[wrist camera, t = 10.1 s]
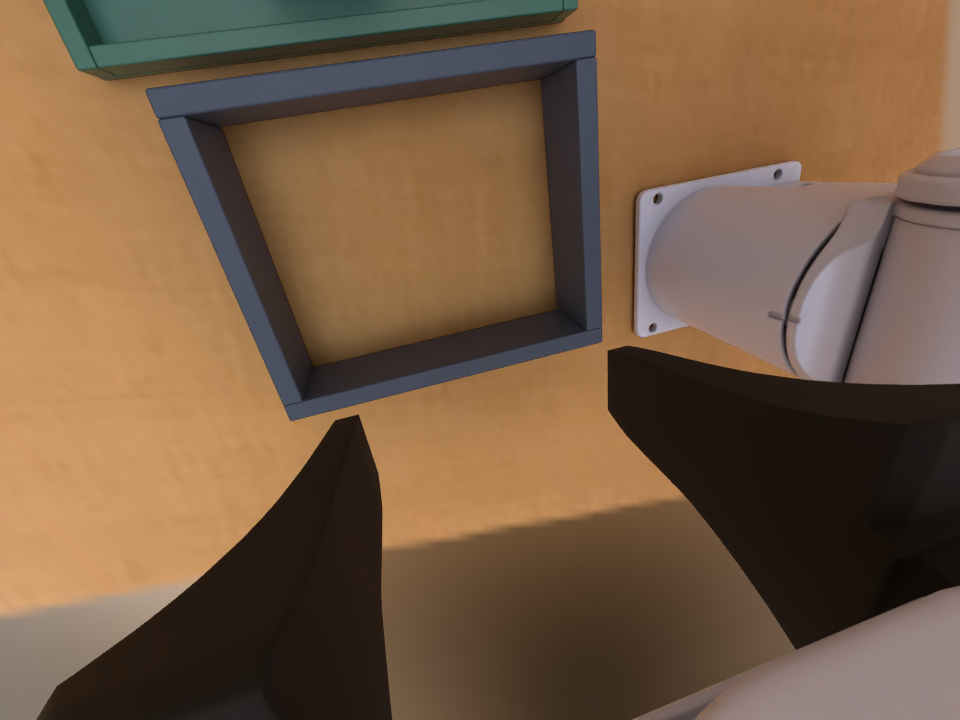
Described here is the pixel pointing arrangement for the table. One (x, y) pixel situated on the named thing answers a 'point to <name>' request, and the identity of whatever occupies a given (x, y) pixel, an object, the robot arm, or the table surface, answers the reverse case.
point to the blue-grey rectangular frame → (222, 102)
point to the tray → (267, 28)
